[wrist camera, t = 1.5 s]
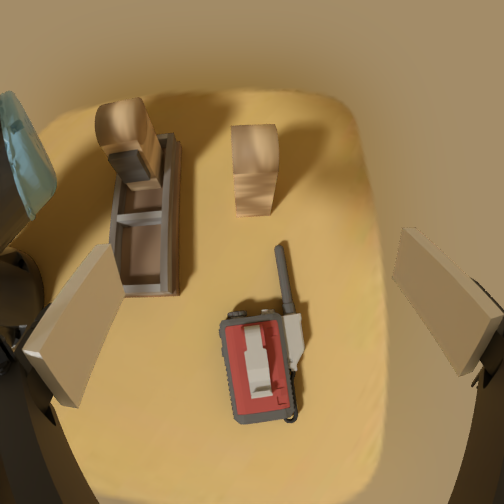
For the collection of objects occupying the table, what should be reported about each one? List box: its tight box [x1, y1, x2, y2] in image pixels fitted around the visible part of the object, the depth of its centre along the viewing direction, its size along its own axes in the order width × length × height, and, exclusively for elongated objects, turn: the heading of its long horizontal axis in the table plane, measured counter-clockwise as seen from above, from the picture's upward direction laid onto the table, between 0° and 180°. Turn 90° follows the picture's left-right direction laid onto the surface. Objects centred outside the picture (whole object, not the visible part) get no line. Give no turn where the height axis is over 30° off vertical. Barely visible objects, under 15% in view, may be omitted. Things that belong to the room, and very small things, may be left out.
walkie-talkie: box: [219, 245, 305, 424], centre depth 30 cm, size 9×4×20 cm
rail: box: [95, 97, 182, 298], centre depth 29 cm, size 8×20×14 cm, turn 4°
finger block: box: [231, 124, 279, 217], centre depth 30 cm, size 4×6×12 cm
